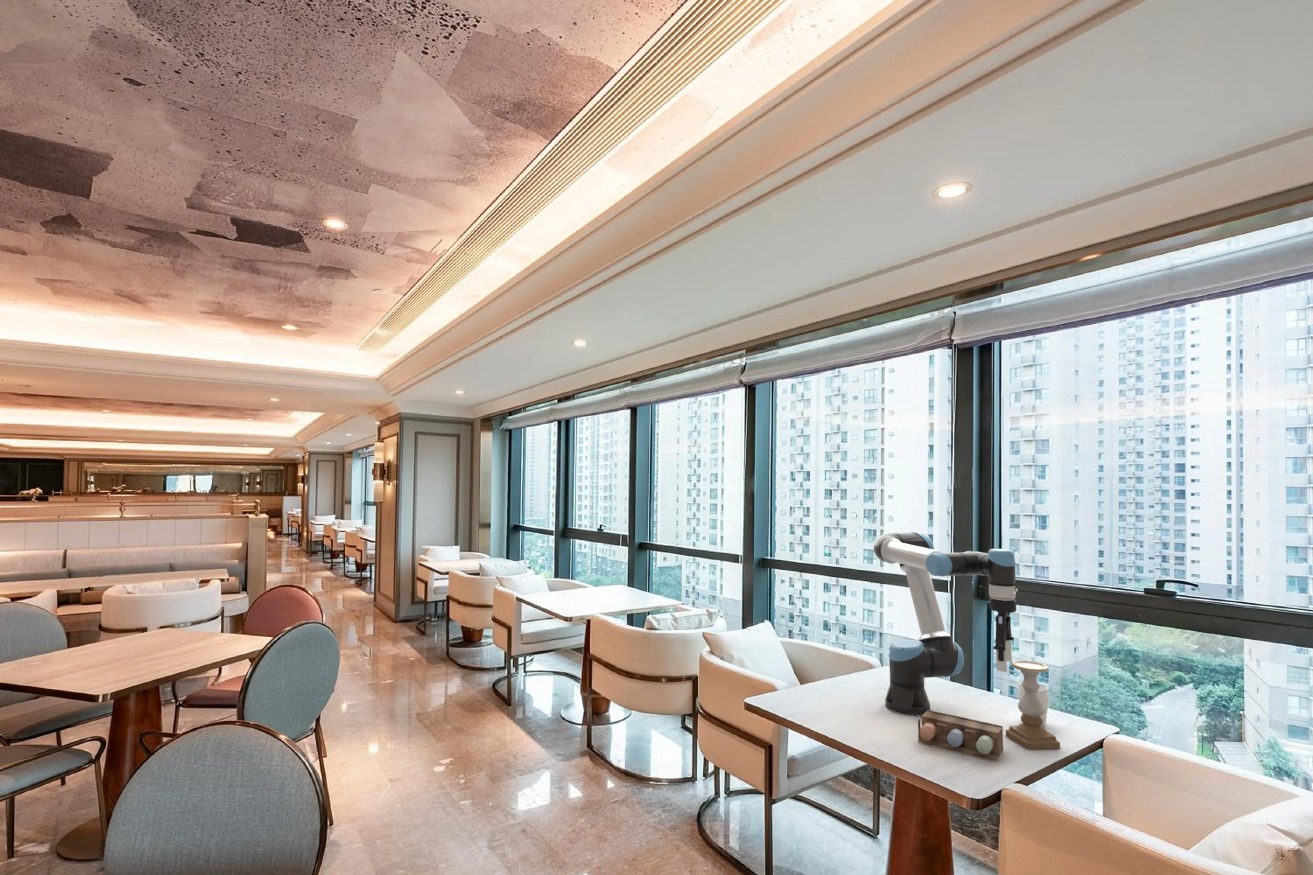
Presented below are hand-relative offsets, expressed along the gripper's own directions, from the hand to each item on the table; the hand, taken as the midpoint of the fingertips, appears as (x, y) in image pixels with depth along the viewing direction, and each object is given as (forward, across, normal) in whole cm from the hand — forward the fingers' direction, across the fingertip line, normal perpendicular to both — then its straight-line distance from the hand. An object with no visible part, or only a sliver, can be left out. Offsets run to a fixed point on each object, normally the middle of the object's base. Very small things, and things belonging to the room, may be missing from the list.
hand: (1004, 665), depth 201 cm
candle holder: (+24, +4, -7) cm, 25 cm away
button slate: (+21, -18, +12) cm, 30 cm away
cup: (+24, +23, -6) cm, 34 cm away
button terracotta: (+21, -17, +20) cm, 34 cm away
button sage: (+21, -18, +4) cm, 28 cm away
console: (+23, -13, +11) cm, 29 cm away
